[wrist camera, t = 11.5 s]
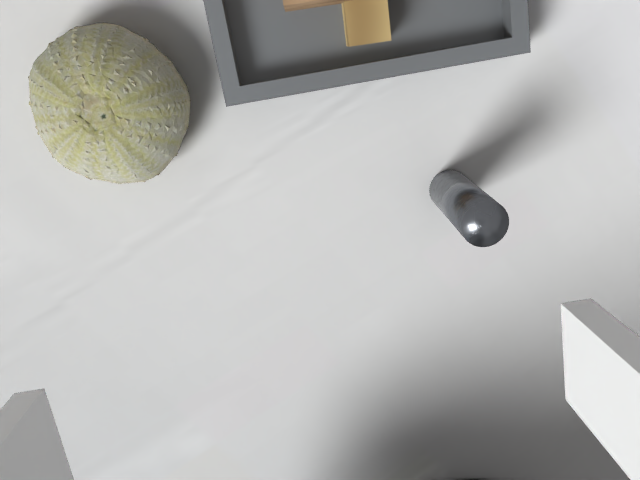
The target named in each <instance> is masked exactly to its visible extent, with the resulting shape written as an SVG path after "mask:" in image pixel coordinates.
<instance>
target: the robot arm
mask: <svg viewBox="0 0 640 480" xmlns="http://www.w3.org/2000/svg"><path fill="white" fill-rule="evenodd" d="M561 319H562V339H563V359H564V379H565V398H566V401H567V402H568V403H569V405H570V406H571V407H572V408H573V409H574V411H575V412H576V413H577V414H578V416H579V417H580V418H581V419H582V421H583V422H584V423H585V424H586V425H587V427H588V428H589V429H590V430H591V432H592V433H593V434H594V435H595V437H596V438H597V439H598V440H599V441H600V443H601V444H602V445H603V446H604V448H605V449H606V450H607V451H608V453H609V454H610V455H611V456H612V457H613V459H614V460H615V461H616V462H617V464H618V465H619V466H620V467H621V469H622V470H623V471H624V472H625V474H626V475H627V476H628V477H629V478H630V480H640V337H639V336H638V335H637V334H635V333H634V332H633V331H632V330H630V329H629V328H628V327H627V326H625V325H624V324H623V323H621V322H620V321H619V320H618V319H616V318H615V317H614V316H613V315H611V314H610V313H609V312H607V311H606V310H605V309H604V308H602V307H601V306H600V305H599V304H597V303H596V302H595V301H594V300H592V299H585V300H579V301H573V302H567V303H561ZM0 480H74V478H73V475H72V472H71V469H70V466H69V463H68V460H67V457H66V454H65V451H64V448H63V444H62V441H61V438H60V435H59V432H58V429H57V426H56V423H55V420H54V417H53V414H52V411H51V408H50V405H49V401H48V398H47V395H46V392H45V389H38V390H32V391H26V392H20V393H14V394H13V396H12V397H11V398H10V399H9V400H8V401H7V403H6V404H5V405H4V406H3V407H2V408H1V410H0Z"/></svg>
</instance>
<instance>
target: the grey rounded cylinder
mask: <svg viewBox="0 0 640 480" xmlns="http://www.w3.org/2000/svg"><path fill="white" fill-rule="evenodd" d="M429 191H430V196H431V199H432V200H433V202H434V203H435V204H436V205H437V206H438V208H439V209H440V210H441V211H442V212H443V213H444V215H445V216H446V217H447V218H448V219H449V220H450V222H451V223H452V224H453V225H454V226H455V227H456V229H457V230H458V231H459V232H460V233H461V234H462V236H463V237H464V238H465V239H466V240H467V241H468V242H469V243H470V244H472V245H474V246H478V247H487V246H491V245H494V244H496V243H497V242H499V241H500V240H501V239H502V238H503V237H504V235H505V234H506V232H507V230H508V226H509V217H508V214H507V212H506V210H505V209H504V208H503V207H502V206H501V205H500V204H499V203H498V202H496V201H495V200H494V199H493V198H491V197H490V196H489V195H488V194H486V193H485V192H484V191H483V190H481V189H480V188H479V187H478V186H476V185H475V184H474V183H473V182H471V181H470V180H469V179H468V178H466V177H465V176H464V175H463V174H461V173H460V172H458V171H455V170H446V171H443V172H441V173H439V174H437V175H436V176H435V177H434V179H433V180H432V182H431V184H430V190H429Z"/></svg>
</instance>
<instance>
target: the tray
mask: <svg viewBox="0 0 640 480" xmlns="http://www.w3.org/2000/svg"><path fill="white" fill-rule="evenodd" d="M203 1H204V6H205V10H206V15H207V19H208V24H209V29H210V33H211V38H212V43H213V47H214V52H215V57H216V61H217V66H218V70H219V75H220V80H221V84H222V89H223V94H224V98H225V103H226V107H227V106H232V105H238V104H244V103H249V102H255V101H260V100H266V99H272V98H277V97H283V96H289V95H294V94H300V93H305V92H311V91H317V90H322V89H328V88H333V87H339V86H345V85H350V84H356V83H361V82H367V81H373V80H378V79H384V78H389V77H395V76H401V75H406V74H412V73H417V72H423V71H429V70H434V69H440V68H445V67H451V66H457V65H462V64H468V63H474V62H479V61H485V60H490V59H496V58H502V57H507V56H513V55H518V54H524V53H530V52H531V51H530V34H529V16H528V0H388V10H389V20H390V31H391V41H385V42H378V43H371V44H364V45H358V46H351V47H348V46H346V38H345V30H344V21H343V13H342V5H341V4H335V5H328V6H322V7H315V8H308V9H301V10H295V11H288V12H285V9H284V5H283V0H203Z"/></svg>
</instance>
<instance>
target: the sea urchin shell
mask: <svg viewBox="0 0 640 480" xmlns="http://www.w3.org/2000/svg"><path fill="white" fill-rule="evenodd" d="M28 78H29V89H30V102H29V105H30V106H31V109H32V112H33V115H34V119H35V123H36V129H37V130H38V134H39V135H40V136H41V138H42V140H43V142H44V143H45V145H46V146H47V148H48V150H49V151H50V153H51V154H52V157H53V158H55V159H56V160H57V161H58V162H59V163H60V164H62V165H63V166H64V167H65V168H67V169H69V170H71V171H73V172H75V173H78V174H81V175H83V176H85V177H86V178H88V179H90V180H91V179H97V180H103V181H109V182H112V183H117V184H122V183H132V182H145V181H146V180H149V179H151V178H153V177H154V176H156V175H159V174H160V172H162V171H163V170H164V169H165V168H166V166H167V165H168V164H169V163H170V161H171V160H172V159H173V158H174V156H177V154H178V150H179V148H180V145H181V142H182V139H183V137H184V135H185V134H186V133H187V132H186V130H187V128H188V127H189V126H188V122H189V113H190V101H191V100H190V97H189V93H188V90H187V85H186V84H185V83H184V81H183V79H182V78H181V76H180V75H179V73H178V72H177V70H176V68H175V67H174V65H173V63H172V62H171V61H170V60H169V59H168V58H167V56H164V55H163V54H162V53H161V52H160V51H158V50H157V48H156V47H154V45H153V44H152V43H149V41H148V39H144V38H143V37H142V36H139V35H137V34H135V33H133V32H131V31H129V30H128V29H126V28H124V27H122V26H119V25H115V24H109V23H98V24H93V25H89V26H82V27H75V28H74V29H71V30H69V31H68V32H67V33H65V34H64V35H63V36H61V37H59V38H57V39H56V40H55V41H53V42H51V43H49V45H48V48H47V49H46V50H45V51H44V52H43V53H42V54H41V55H40V56H39V57H38V58H37V59H36V60H35V62H34V64H33V66H32V69H31V72H30V76H29V77H28Z"/></svg>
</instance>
